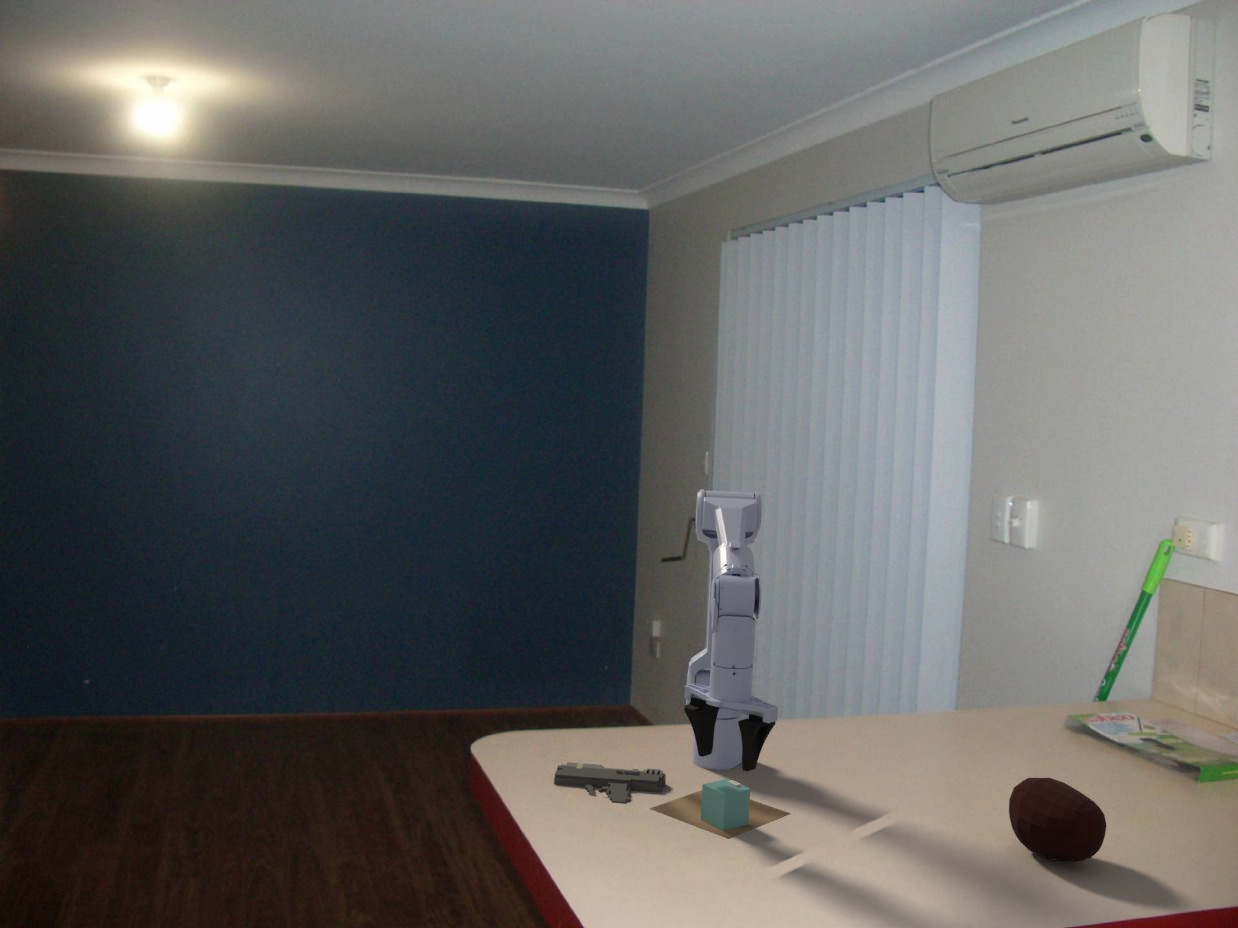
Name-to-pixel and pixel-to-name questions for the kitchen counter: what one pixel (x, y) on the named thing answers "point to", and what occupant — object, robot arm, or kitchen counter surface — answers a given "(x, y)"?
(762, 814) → the board
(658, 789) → the toy gun
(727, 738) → the robot arm
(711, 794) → the teal cube
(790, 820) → the kitchen counter surface
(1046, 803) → the potato
